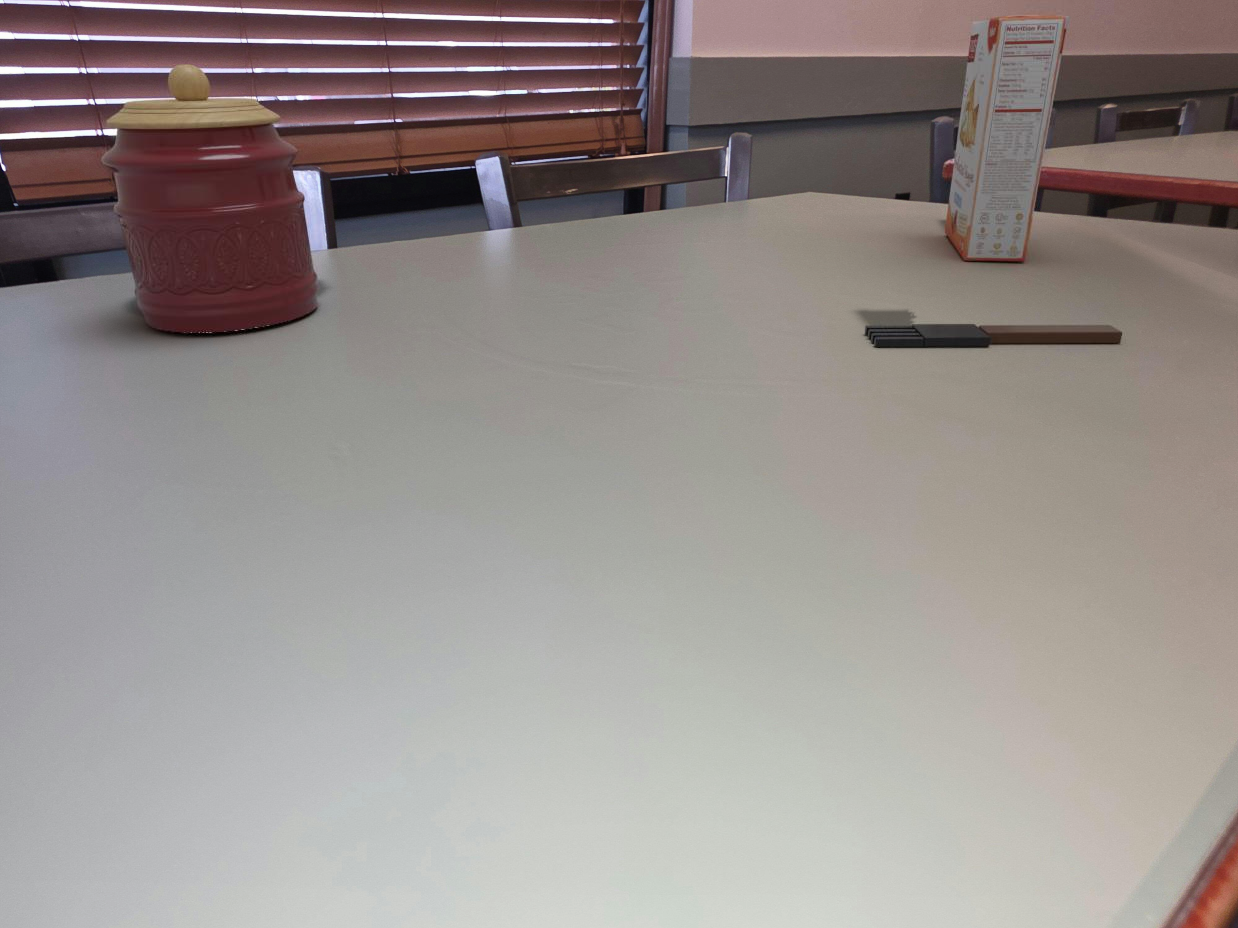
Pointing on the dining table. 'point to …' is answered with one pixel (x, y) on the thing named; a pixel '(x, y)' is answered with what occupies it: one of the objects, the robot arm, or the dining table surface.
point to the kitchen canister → (210, 211)
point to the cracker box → (1003, 134)
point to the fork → (987, 334)
